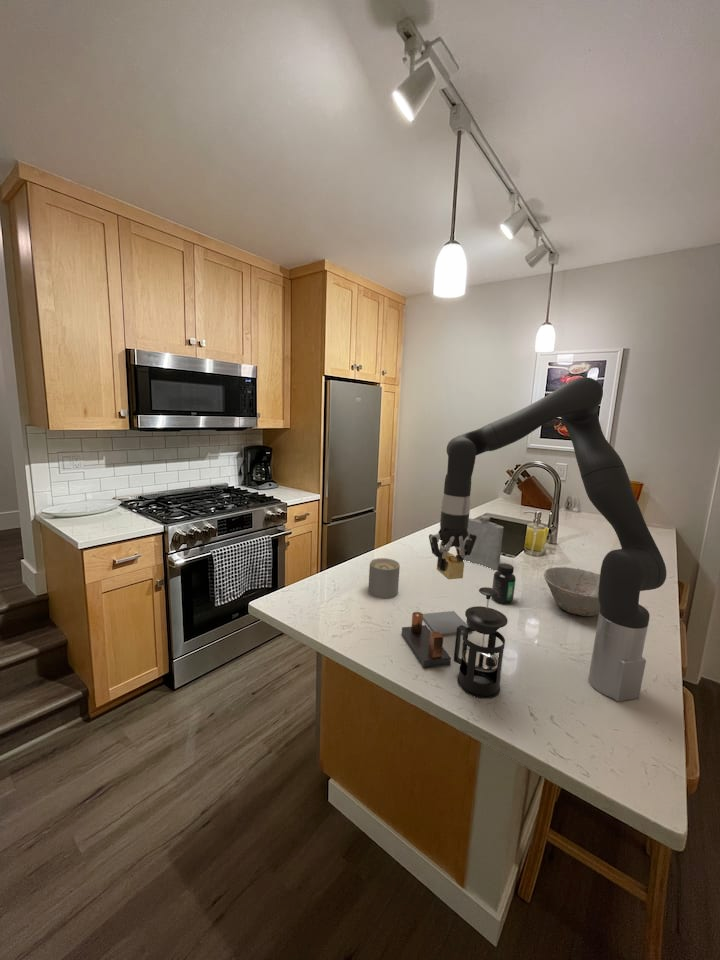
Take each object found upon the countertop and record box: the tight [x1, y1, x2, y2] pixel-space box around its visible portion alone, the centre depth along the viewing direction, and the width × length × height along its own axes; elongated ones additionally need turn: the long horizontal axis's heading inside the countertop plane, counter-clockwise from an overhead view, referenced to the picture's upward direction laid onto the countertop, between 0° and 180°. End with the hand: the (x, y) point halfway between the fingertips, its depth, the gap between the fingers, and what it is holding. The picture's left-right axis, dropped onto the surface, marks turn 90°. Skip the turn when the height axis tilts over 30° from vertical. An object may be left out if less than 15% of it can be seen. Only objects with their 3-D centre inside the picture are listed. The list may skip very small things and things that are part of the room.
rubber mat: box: [422, 610, 474, 637], centre depth 118 cm, size 11×11×1 cm
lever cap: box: [436, 551, 465, 580], centre depth 114 cm, size 7×4×6 cm, turn 16°
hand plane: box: [401, 611, 452, 669], centre depth 105 cm, size 15×7×8 cm, turn 15°
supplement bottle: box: [490, 562, 517, 605], centre depth 134 cm, size 7×7×12 cm
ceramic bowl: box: [543, 566, 600, 617], centre depth 130 cm, size 22×23×10 cm
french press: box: [453, 586, 508, 699], centre depth 91 cm, size 12×9×23 cm
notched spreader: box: [463, 515, 504, 571], centre depth 164 cm, size 16×4×20 cm, turn 47°
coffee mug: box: [367, 557, 401, 600], centre depth 137 cm, size 13×10×10 cm
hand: (449, 569), depth 114 cm, fingers closed on lever cap, 4 cm apart
